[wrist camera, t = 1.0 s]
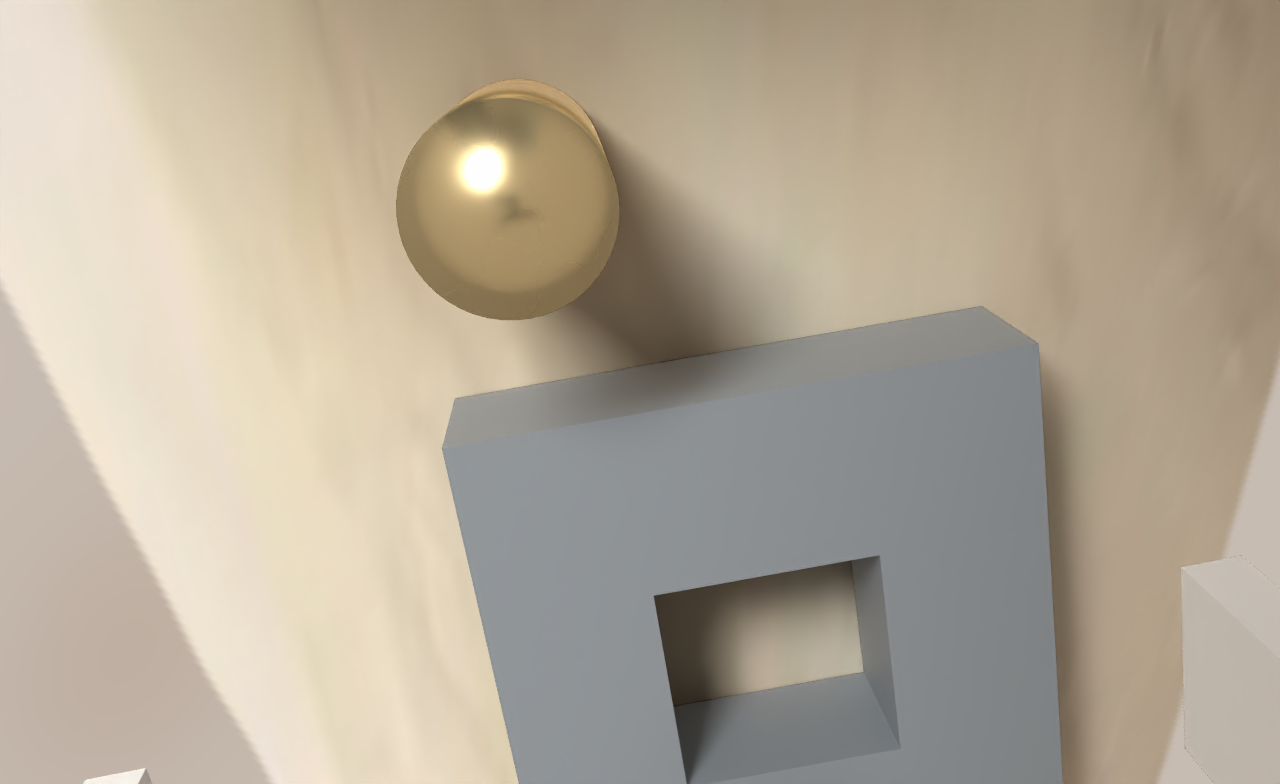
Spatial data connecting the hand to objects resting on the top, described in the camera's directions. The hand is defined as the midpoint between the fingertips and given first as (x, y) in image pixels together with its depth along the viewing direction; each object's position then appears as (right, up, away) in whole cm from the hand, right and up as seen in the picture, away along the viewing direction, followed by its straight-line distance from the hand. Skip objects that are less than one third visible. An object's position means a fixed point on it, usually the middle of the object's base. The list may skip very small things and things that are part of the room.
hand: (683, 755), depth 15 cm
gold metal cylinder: (-4, +11, +16) cm, 19 cm away
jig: (+3, -2, +20) cm, 21 cm away
